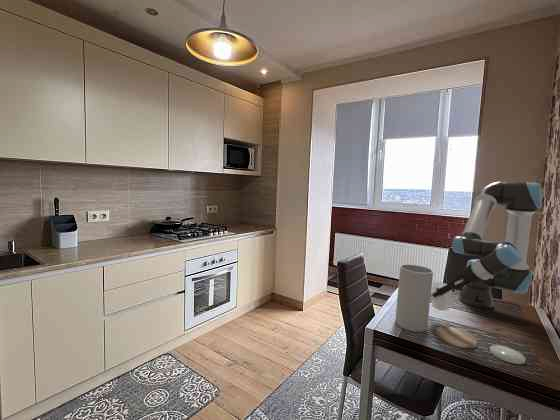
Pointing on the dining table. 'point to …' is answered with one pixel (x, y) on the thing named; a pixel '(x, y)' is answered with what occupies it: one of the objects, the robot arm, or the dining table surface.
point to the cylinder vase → (413, 297)
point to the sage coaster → (507, 354)
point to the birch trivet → (456, 337)
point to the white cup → (441, 298)
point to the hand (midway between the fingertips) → (433, 296)
